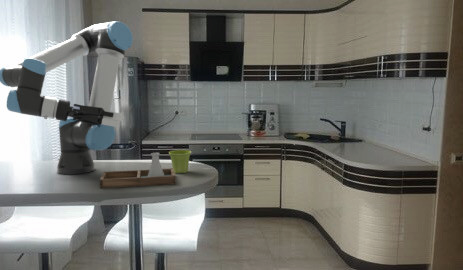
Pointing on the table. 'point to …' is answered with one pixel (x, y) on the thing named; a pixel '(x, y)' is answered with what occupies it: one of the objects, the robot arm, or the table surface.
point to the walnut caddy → (135, 178)
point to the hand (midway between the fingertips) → (120, 121)
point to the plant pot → (180, 160)
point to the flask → (155, 166)
